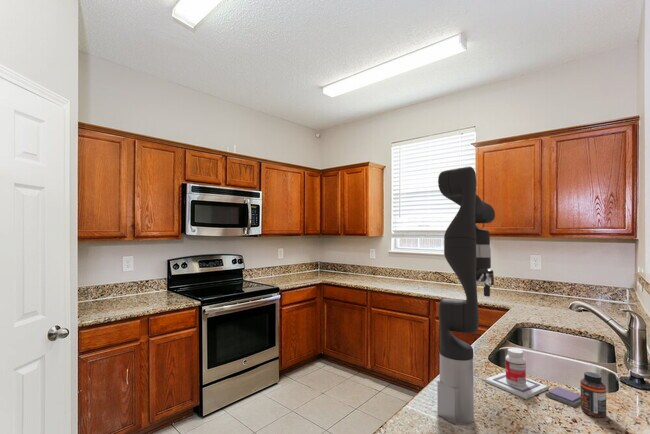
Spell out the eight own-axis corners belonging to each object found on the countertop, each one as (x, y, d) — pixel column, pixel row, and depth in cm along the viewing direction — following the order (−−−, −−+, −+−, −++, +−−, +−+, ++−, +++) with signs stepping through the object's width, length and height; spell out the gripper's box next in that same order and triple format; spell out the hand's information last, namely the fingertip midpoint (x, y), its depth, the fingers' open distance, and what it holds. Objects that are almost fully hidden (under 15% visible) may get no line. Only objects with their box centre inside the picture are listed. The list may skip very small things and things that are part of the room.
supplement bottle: (575, 407, 100) (574, 369, 101) (595, 407, 100) (594, 370, 100) (591, 418, 94) (590, 378, 95) (612, 419, 94) (611, 378, 94)
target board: (526, 399, 104) (526, 395, 104) (485, 381, 116) (485, 378, 116) (548, 389, 112) (547, 385, 112) (507, 373, 124) (507, 370, 124)
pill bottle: (508, 377, 118) (508, 346, 119) (527, 382, 114) (527, 350, 115) (503, 382, 114) (503, 350, 114) (523, 388, 110) (523, 355, 110)
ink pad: (574, 407, 100) (574, 402, 100) (545, 395, 107) (545, 391, 107) (585, 400, 104) (585, 395, 104) (557, 390, 111) (557, 385, 111)
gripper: (477, 257, 122) (478, 300, 121) (499, 256, 129) (500, 297, 128) (460, 255, 128) (460, 297, 127) (482, 255, 136) (482, 294, 135)
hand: (480, 297), depth 128 cm, fingers open, 8 cm apart
